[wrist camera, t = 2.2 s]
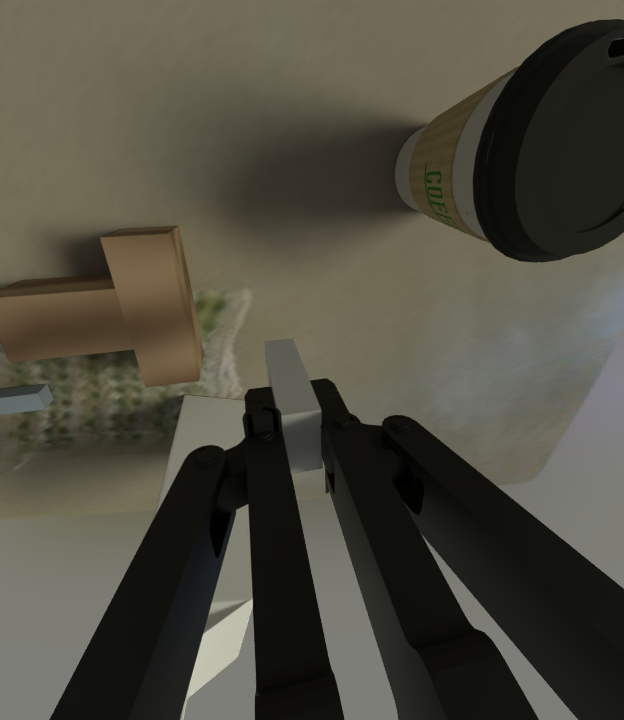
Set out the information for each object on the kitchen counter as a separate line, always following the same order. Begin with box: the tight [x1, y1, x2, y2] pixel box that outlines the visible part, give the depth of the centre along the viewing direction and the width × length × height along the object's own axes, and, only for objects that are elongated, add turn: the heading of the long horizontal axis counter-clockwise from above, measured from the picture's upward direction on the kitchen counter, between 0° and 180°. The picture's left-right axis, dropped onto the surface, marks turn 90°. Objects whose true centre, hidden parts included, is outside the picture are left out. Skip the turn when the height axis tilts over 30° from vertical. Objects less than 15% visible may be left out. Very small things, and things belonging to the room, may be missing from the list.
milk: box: [154, 395, 253, 720], centre depth 25 cm, size 6×6×22 cm
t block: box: [0, 226, 204, 387], centre depth 25 cm, size 11×12×5 cm
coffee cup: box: [395, 19, 624, 262], centre depth 21 cm, size 10×10×15 cm
